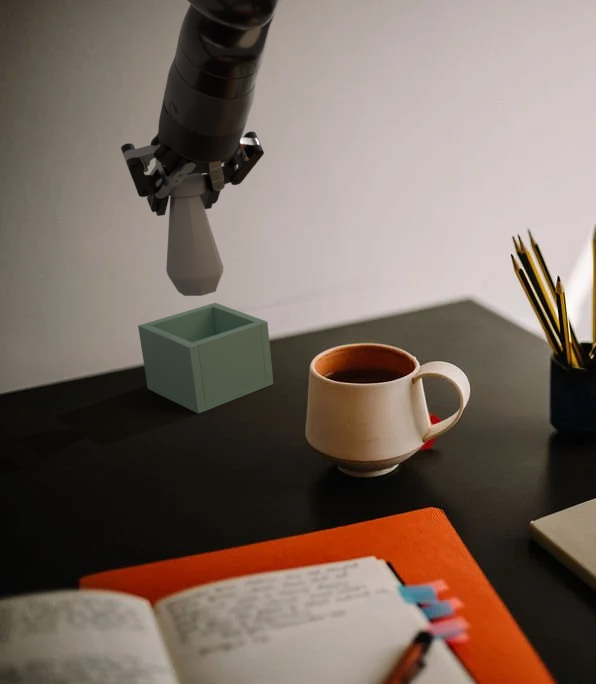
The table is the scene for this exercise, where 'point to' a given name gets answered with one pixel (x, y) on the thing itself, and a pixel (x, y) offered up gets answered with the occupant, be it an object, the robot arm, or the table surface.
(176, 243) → the salt shaker
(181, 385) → the green open box
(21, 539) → the table surface
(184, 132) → the robot arm
